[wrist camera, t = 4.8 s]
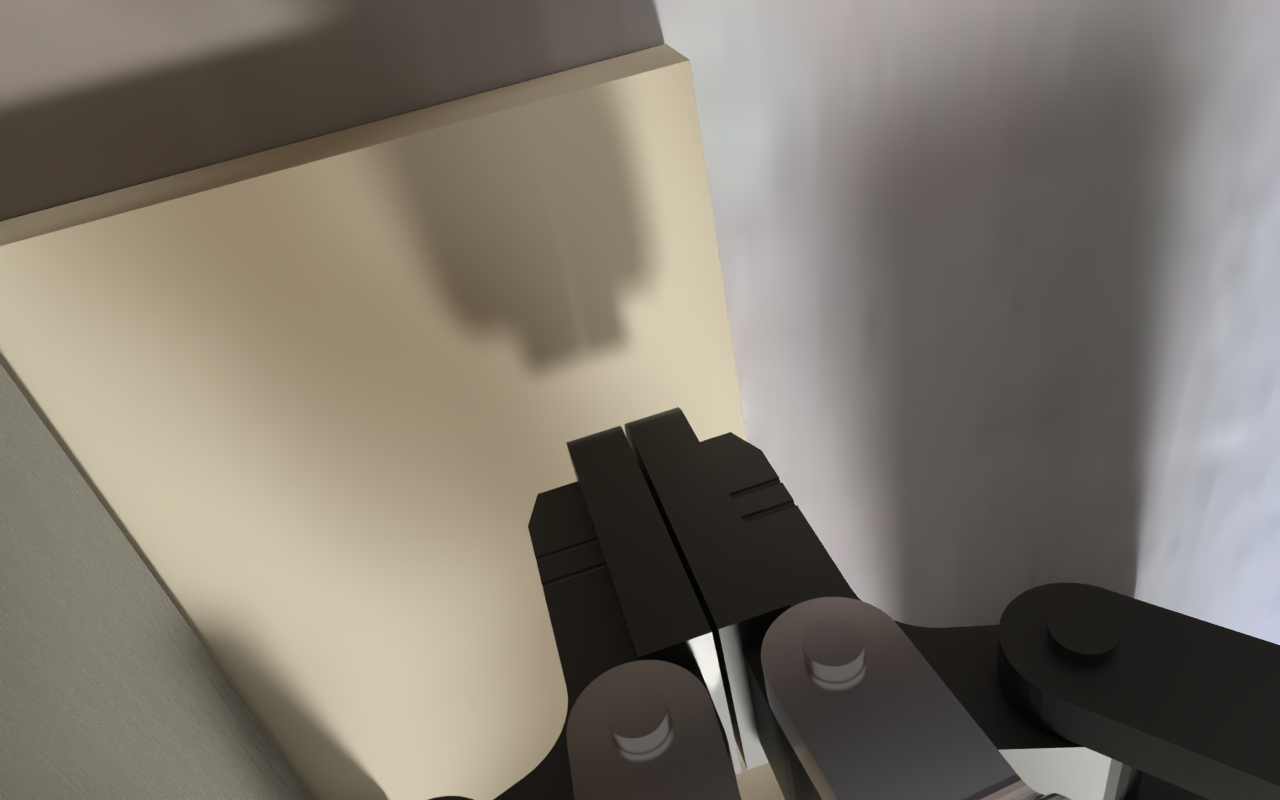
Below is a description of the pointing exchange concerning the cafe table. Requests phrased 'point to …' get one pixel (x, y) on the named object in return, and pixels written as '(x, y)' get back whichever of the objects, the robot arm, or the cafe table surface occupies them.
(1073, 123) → the cafe table surface
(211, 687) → the link
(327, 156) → the board
